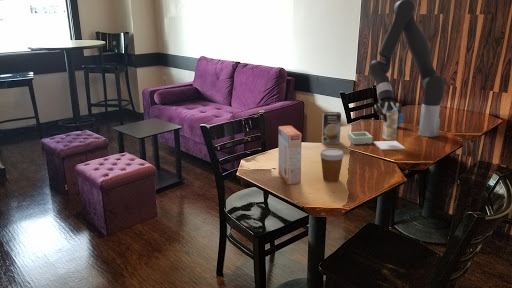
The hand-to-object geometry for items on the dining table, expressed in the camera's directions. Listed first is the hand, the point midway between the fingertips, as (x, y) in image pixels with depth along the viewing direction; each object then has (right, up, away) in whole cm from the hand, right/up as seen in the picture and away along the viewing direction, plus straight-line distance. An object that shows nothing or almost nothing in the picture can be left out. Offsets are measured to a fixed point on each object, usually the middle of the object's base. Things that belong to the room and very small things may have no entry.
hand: (391, 121), depth 195 cm
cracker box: (-54, -26, -33) cm, 68 cm away
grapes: (+15, -1, +41) cm, 44 cm away
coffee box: (-28, -11, +13) cm, 33 cm away
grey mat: (0, -12, +5) cm, 13 cm away
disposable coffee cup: (-37, -26, -35) cm, 57 cm away
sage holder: (-12, -10, +14) cm, 21 cm away
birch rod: (0, -8, +4) cm, 9 cm away
